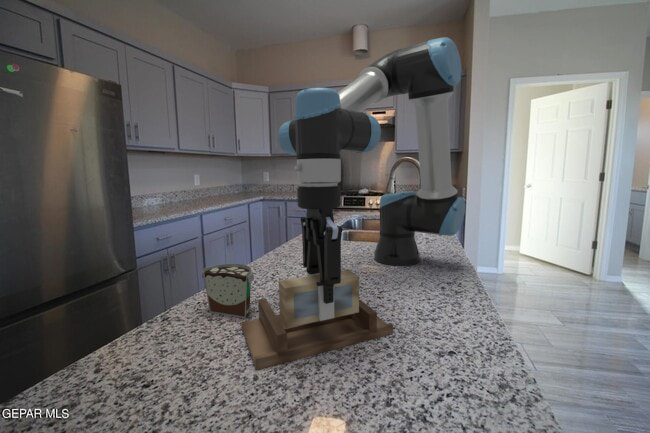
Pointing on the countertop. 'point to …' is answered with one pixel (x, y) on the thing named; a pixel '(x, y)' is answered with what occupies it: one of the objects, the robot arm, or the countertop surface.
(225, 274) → the food container
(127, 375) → the countertop surface
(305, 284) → the tan rectangular block
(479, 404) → the countertop surface
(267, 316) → the wooden slatted panel
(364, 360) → the countertop surface
